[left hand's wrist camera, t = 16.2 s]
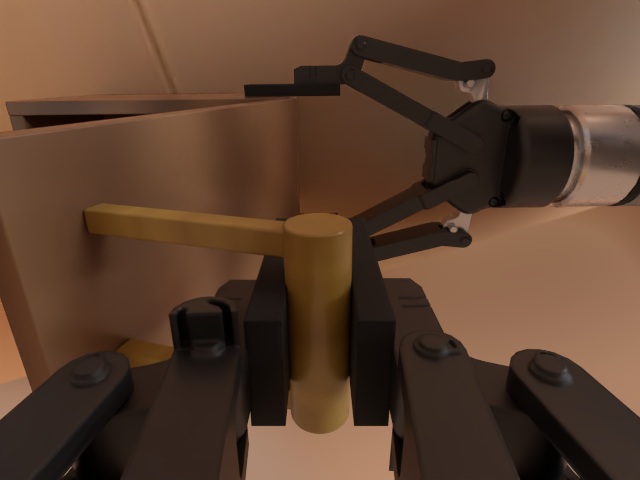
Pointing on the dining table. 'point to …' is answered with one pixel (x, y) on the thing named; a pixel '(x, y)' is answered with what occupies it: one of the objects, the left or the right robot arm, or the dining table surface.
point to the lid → (169, 241)
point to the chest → (116, 107)
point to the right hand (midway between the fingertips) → (252, 161)
